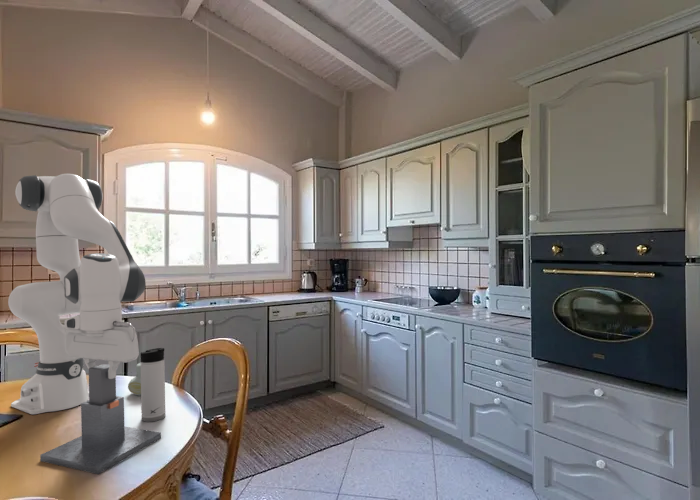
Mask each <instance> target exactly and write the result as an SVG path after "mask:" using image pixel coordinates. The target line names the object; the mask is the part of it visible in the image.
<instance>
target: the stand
mask: <svg viewBox="0 0 700 500" xmlns="http://www.w3.org/2000/svg"><path fill="white" fill-rule="evenodd" d="M80 412H81V414H80V416H81V419H80V421H81V423H80V424H81V425H80V426H81V436H79V437H76V438H74V439H72V440H69V441H68V442H65V443H64V444H63V443H62V444H61V445H59V446H56V447H54V448H52V449H49V450H47V451H45V452H43V453H41V454H39V455H40V456H39V458H40V460H39V461H40V462H42V463H47V464H52V465H55V466H56V465H57V466H60V467H64V468H69V469H73V470H74V469H75V470H78V471H83V472H88V473H91V474H95V475H96V474H97V475H99V474H101V473H103V472H105V471H106V470H109V469H110V468H112V467H113V466H116V464H118V463H121V462H123V461H124V460H126V459H127V458H129V457H131V456H133V455H135V454H137V453H138V452H139V451H141V450H143V449H145V448H146V447H148V446H151V445H152V444H154V443H155V442H157V441H159V440H160V439H162V433H161V431H155V430H154V431H153V430H147V429H143V428H135V427H129V426H125V397H124V396H121V395H120V396H119V395H116V399H114V400H112V401H109V402H107V403H104V404H102V405H100V404H93V403H89V400H88V401H86V402H83V403H81V405H80Z"/></svg>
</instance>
